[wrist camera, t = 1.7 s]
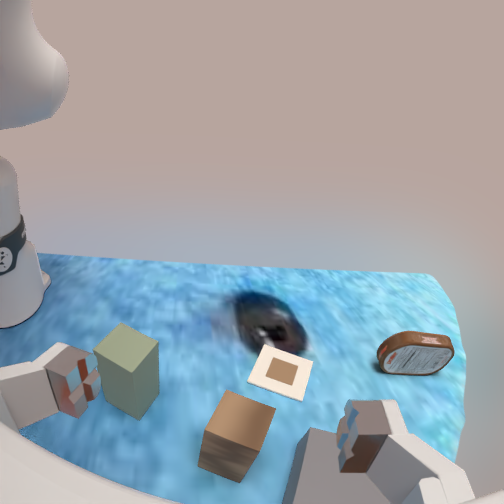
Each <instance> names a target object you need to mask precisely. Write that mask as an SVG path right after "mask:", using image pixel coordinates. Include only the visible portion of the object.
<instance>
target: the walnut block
mask: <svg viewBox="0 0 504 504" xmlns="http://www.w3.org/2000/svg"><path fill="white" fill-rule="evenodd" d="M275 410H276V408H273V407H270V406H267V405H265V404H262V403H259V402H257V401H254V400H251V399H249V398H246V397H244V396H241V395H238V394H236V393H233V392H231V391H229V390H226V391H225V393H224V395H223V397H222V399H221V401H220V402H219V404H218V406H217V408H216V410H215V412H214V413H213V415H212V417H211V419H210V421H209V423H208V424H207V426H206V428H205V430H204V435H203V440H202V445H201V451H200V456H199V461H198V467H201V468H203V469H205V470H208V471H210V472H212V473H215V474H217V475H220V476H222V477H225V478H227V479H230V480H233V481H235V482H238V483H240V482H241V480H242V479H243V477H244V476H245V474H246V473H247V471H248V469H249V468H250V466H251V465H252V463H253V461H254V460H255V458H256V457H257V455H258V453H259V452H260V450H261V447H262V444H263V442H264V439H265V437H266V434H267V432H268V429H269V426H270V424H271V421H272V418H273V416H274V413H275Z"/></svg>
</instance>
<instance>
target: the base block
mask: <svg viewBox="0 0 504 504" xmlns="http://www.w3.org/2000/svg"><path fill="white" fill-rule="evenodd" d="M340 451H341V450H340V449H339V448H338V447H337V442H336V433H332V432H327V431H323V430H319V429H315V428H311V427H310V429H309V430H308V431H307V433H306V434H305V435H304V436H303V438H302V439H301V440H300V442H299V443H298V444H297V448H296V452H295V456H294V460H293V464H292V468H291V472H290V476H289V480H288V484H287V487H286V491H285V495H284V498H283V502H282V504H391V503H390V501H389V500H388V499H387V498H386V497H385V496H384V495H383V493H382V492H381V491H380V490H379V489H378V488H377V487H376V485H375V484H374V483H373V482H372V481H371V480H370V478H369V477H368V476H367V475H366V473H340V470H339V461H338V456H339V454H340Z"/></svg>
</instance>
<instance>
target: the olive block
mask: <svg viewBox="0 0 504 504" xmlns="http://www.w3.org/2000/svg"><path fill="white" fill-rule="evenodd" d="M93 352H94V355H95V356H96V358H97V362H98V365H97V369H98V373H99V374H100V378H101V385H102V388H103V392H104V395H105V399H106V401H107V402H109V403H110V404H112V405H114V406H115V407H117V408H118V409H120V410H122V411H123V412H125V413H127V414H129V415H130V416H132V417H134V418H135V419H137V420H139V421H140V419H141V418H142V416H143V415H144V414H145V412H146V411H147V410H148V408H149V407H150V405H151V404H152V403H153V401H154V400H155V399H156V397H157V396H158V394H159V354H158V341H156V340H154V339H152V338H150V337H148V336H146V335H144V334H142V333H140V332H138V331H136V330H134V329H132V328H131V327H129V326H127V325H125V324H123V323H120V324H119V325H118V326H116V327H115V328H114V329H113V330H112V331H111V332H110V333H109V334H108V335H107V336H106V337H105V338H104V339H103V340H102V341H101V342H100V343H99V344H98V345H97V346H96V347H95V348H94V349H93Z"/></svg>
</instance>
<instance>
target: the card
mask: <svg viewBox="0 0 504 504" xmlns="http://www.w3.org/2000/svg"><path fill="white" fill-rule="evenodd" d="M312 364H313V362H312V361H310V360H307V359H304V358H301V357H298V356H295V355H292V354H289V353H287V352H284V351H281V350H278V349H276V348H273V347H270V346H268V345H265V344H264V346H263V348H262V351H261V353H260V355H259V357H258V359H257V361H256V363H255V366H254V368H253V370H252V372H251V374H250V376H249V378H248V380H247V383H250V384H252V385H255V386H258V387H260V388H263V389H266V390H268V391H271V392H274V393H277V394H280V395H282V396H285V397H288V398H291V399H294V400H297V401H300V402H302V400H303V397H304V393H305V390H306V386H307V383H308V379H309V375H310V372H311V368H312Z"/></svg>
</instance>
